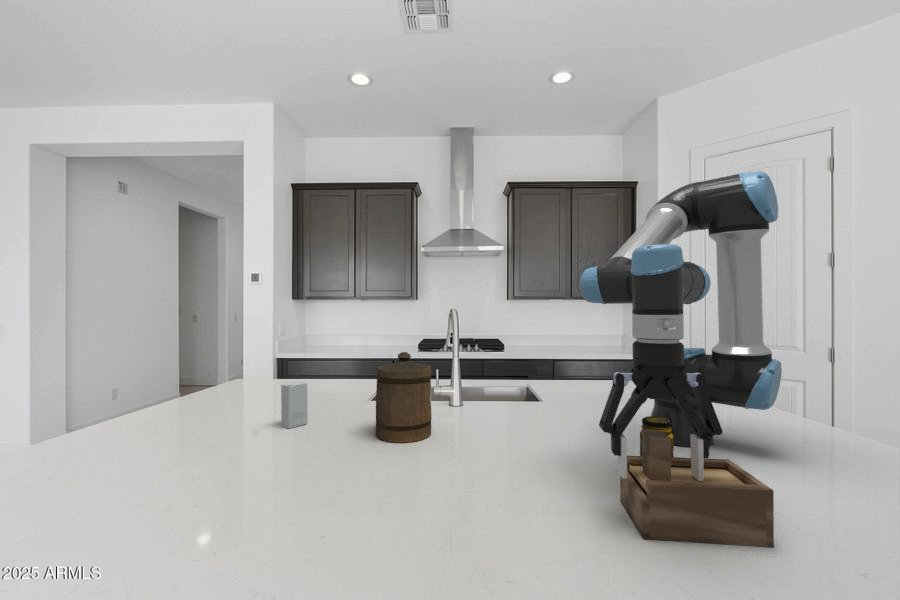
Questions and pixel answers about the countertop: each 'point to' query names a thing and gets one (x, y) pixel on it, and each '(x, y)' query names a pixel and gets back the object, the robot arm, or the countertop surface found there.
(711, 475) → the cover plate
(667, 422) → the condiment
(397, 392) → the wooden container
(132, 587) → the countertop surface
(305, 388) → the skincare box
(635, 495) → the walnut box
